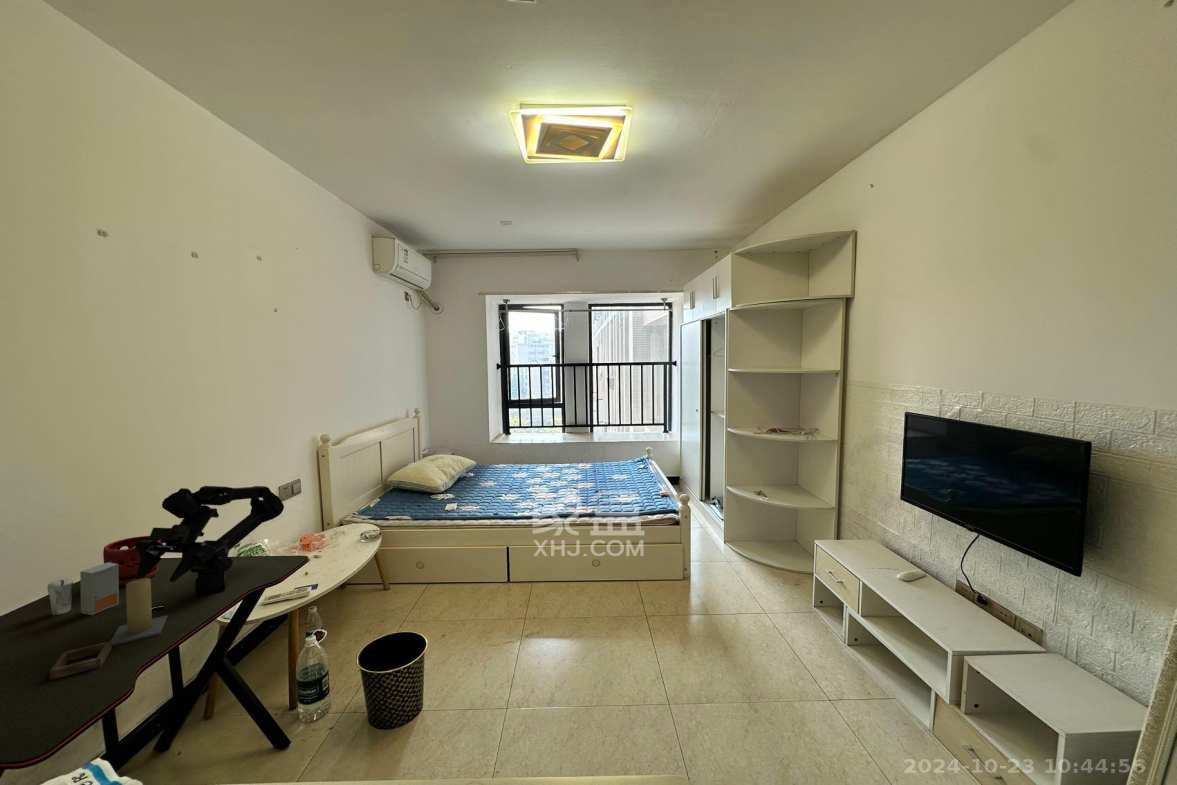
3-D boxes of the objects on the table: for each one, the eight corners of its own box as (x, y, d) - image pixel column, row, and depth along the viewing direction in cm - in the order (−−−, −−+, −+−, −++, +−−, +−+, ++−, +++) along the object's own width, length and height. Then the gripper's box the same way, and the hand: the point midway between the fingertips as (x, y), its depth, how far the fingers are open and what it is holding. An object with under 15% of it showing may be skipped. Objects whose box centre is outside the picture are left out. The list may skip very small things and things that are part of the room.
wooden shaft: (153, 622, 114) (152, 576, 113) (149, 630, 110) (148, 583, 110) (130, 627, 111) (128, 580, 111) (125, 636, 108) (123, 588, 107)
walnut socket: (111, 648, 104) (111, 640, 104) (101, 666, 98) (100, 658, 98) (64, 660, 99) (63, 652, 99) (49, 680, 93) (49, 671, 93)
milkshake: (50, 619, 114) (49, 583, 114) (46, 613, 117) (45, 577, 117) (76, 611, 118) (75, 576, 118) (72, 605, 121) (71, 571, 121)
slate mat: (167, 617, 117) (167, 615, 117) (159, 634, 110) (159, 632, 110) (119, 628, 112) (119, 626, 112) (108, 646, 104) (108, 644, 104)
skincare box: (92, 615, 117) (90, 573, 116) (80, 613, 118) (79, 571, 117) (120, 604, 123) (119, 563, 122) (109, 602, 123) (107, 561, 123)
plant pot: (133, 589, 131) (132, 551, 130) (91, 587, 131) (89, 549, 130) (175, 569, 144) (174, 534, 143) (136, 568, 144) (135, 533, 143)
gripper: (139, 512, 119) (94, 569, 108) (205, 514, 118) (166, 572, 108) (168, 528, 127) (129, 583, 117) (230, 531, 127) (196, 586, 116)
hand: (154, 581), depth 114 cm, fingers open, 9 cm apart
